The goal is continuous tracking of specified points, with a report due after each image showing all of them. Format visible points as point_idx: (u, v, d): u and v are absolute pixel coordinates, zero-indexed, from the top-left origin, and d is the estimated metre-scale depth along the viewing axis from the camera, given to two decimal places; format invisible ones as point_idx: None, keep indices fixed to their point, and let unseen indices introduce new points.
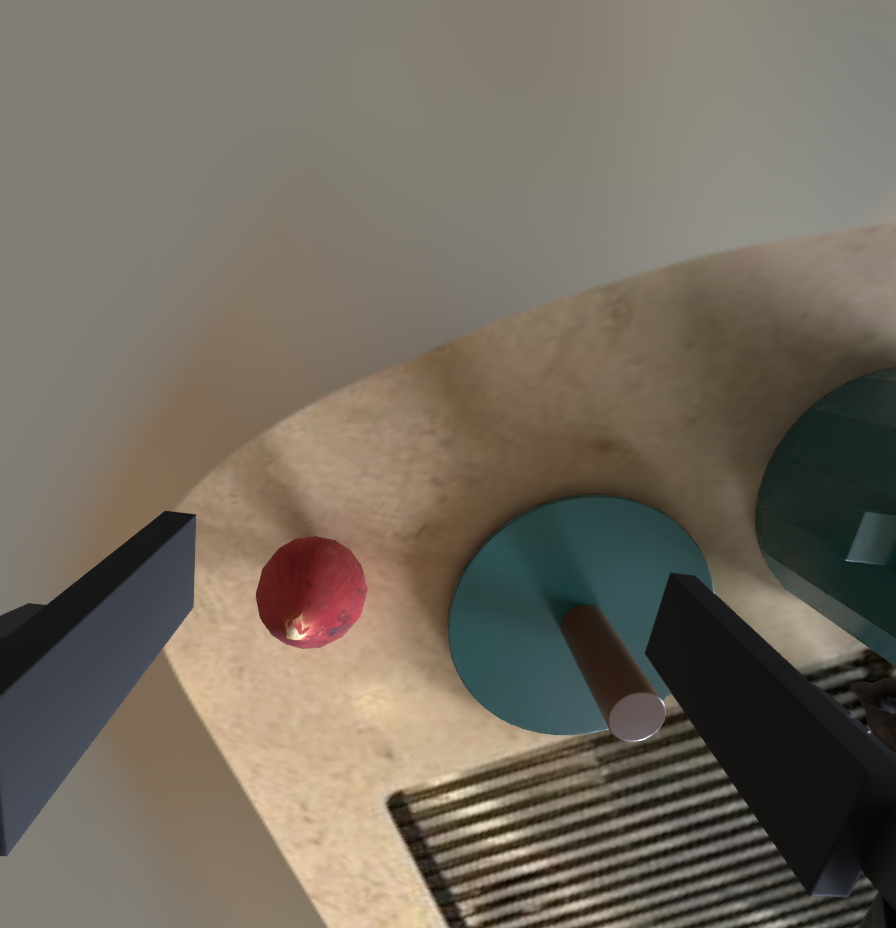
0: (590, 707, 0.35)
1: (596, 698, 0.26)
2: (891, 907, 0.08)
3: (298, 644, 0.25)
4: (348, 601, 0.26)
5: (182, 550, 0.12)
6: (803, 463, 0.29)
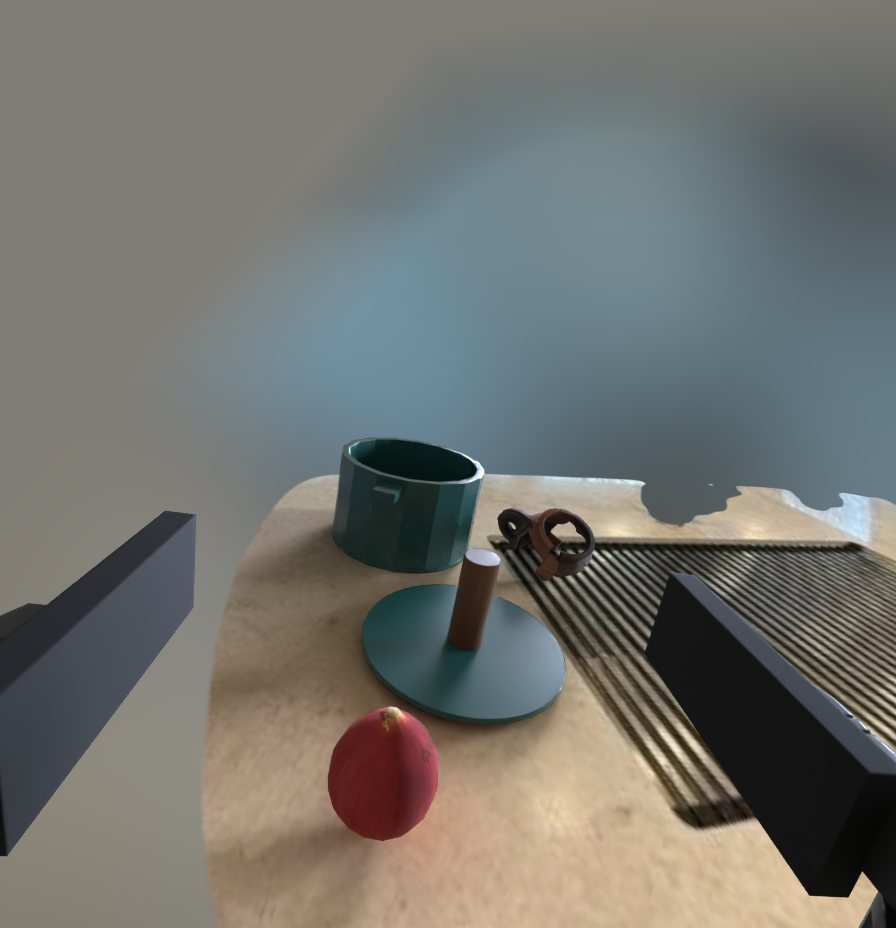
0: (536, 645, 0.45)
1: (480, 582, 0.40)
2: (891, 906, 0.08)
3: (417, 737, 0.26)
4: None
5: (182, 550, 0.12)
6: (367, 542, 0.54)
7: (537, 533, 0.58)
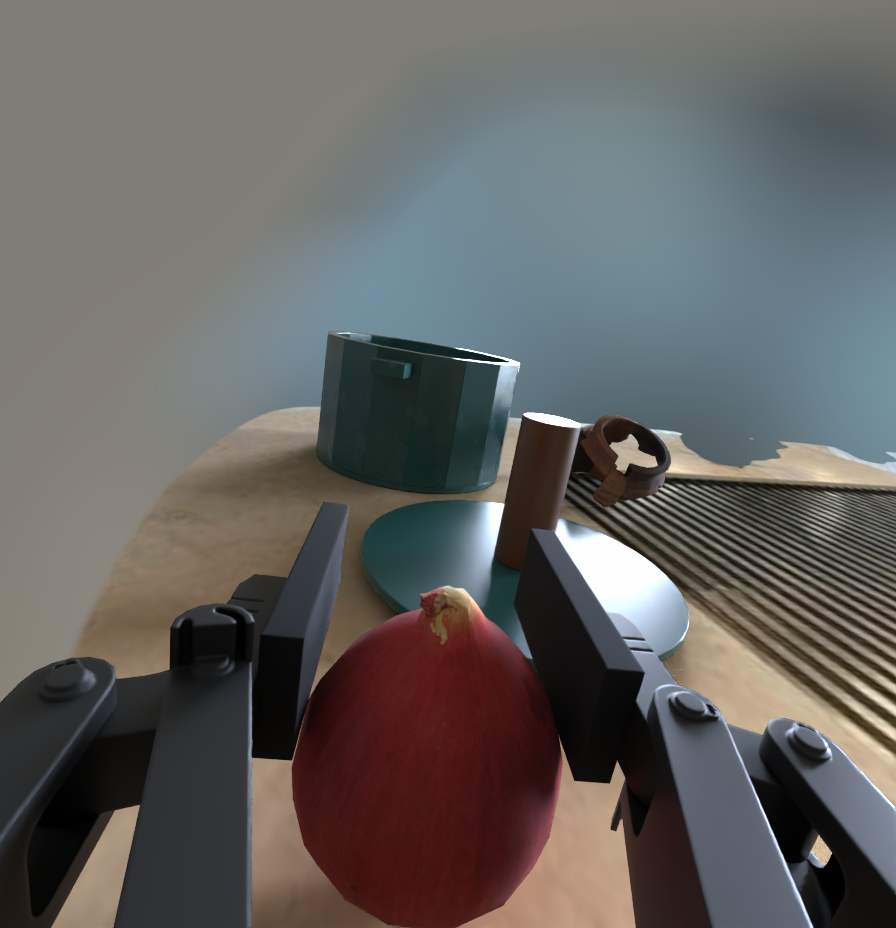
0: (629, 569, 0.29)
1: (552, 456, 0.25)
2: (634, 794, 0.09)
3: (514, 662, 0.10)
4: None
5: (343, 534, 0.15)
6: (364, 449, 0.39)
7: (595, 442, 0.43)
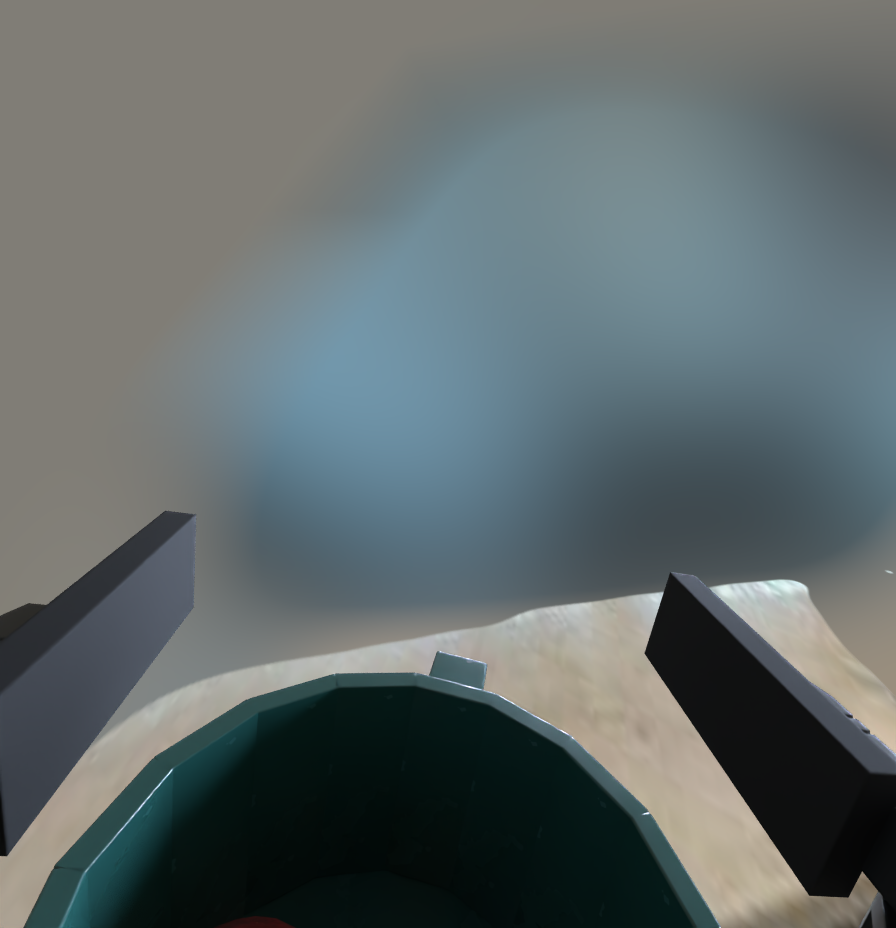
0: None
1: None
2: (891, 907, 0.08)
3: None
4: None
5: (182, 550, 0.12)
6: None
7: None
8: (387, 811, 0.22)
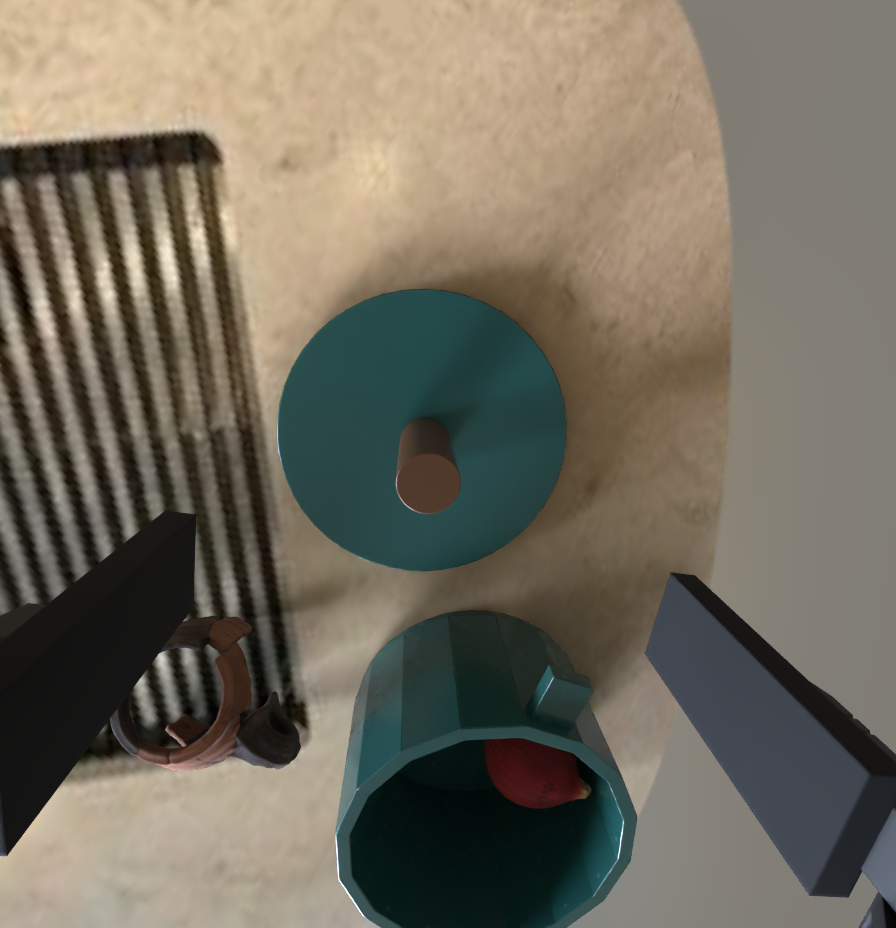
0: (314, 432, 0.30)
1: (432, 444, 0.24)
2: (892, 907, 0.08)
3: (561, 793, 0.32)
4: None
5: (182, 550, 0.12)
6: (545, 648, 0.34)
7: (237, 692, 0.30)
8: (455, 835, 0.36)
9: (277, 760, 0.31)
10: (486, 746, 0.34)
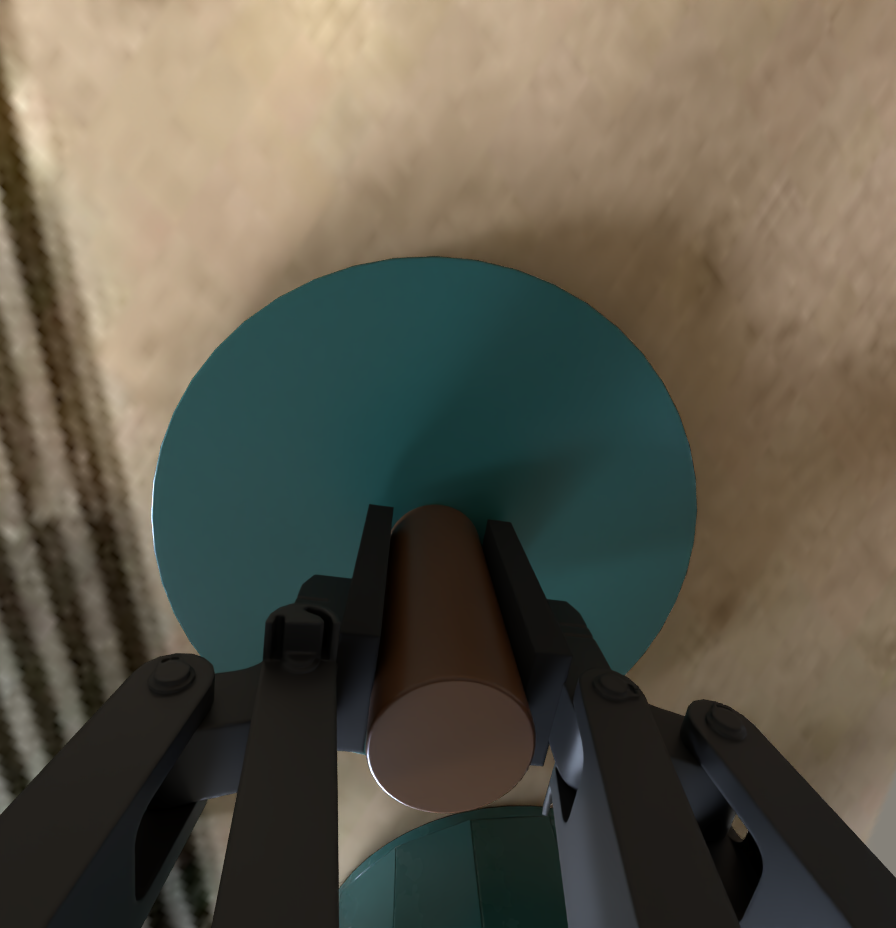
0: (225, 532, 0.16)
1: (460, 623, 0.10)
2: (562, 778, 0.09)
3: None
4: None
5: None
6: None
7: None
8: None
9: None
10: None
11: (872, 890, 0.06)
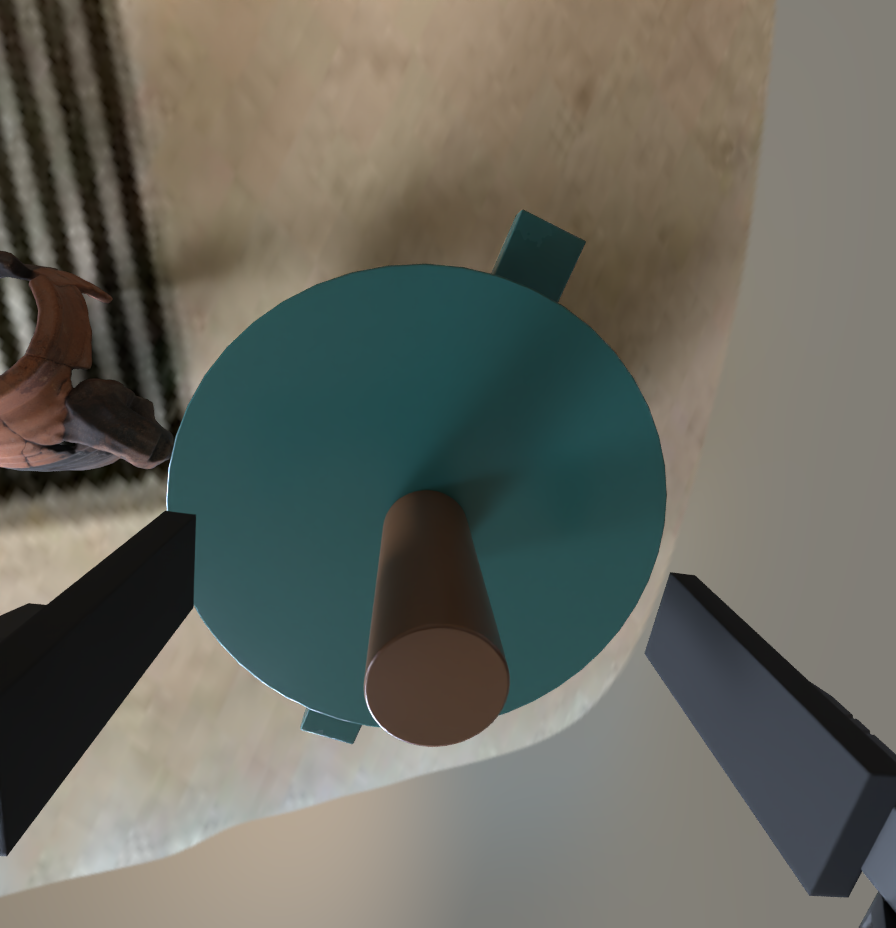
0: (234, 516, 0.17)
1: (445, 585, 0.11)
2: (892, 907, 0.08)
3: None
4: None
5: (182, 550, 0.12)
6: None
7: (63, 328, 0.21)
8: None
9: (128, 441, 0.21)
10: None
11: None
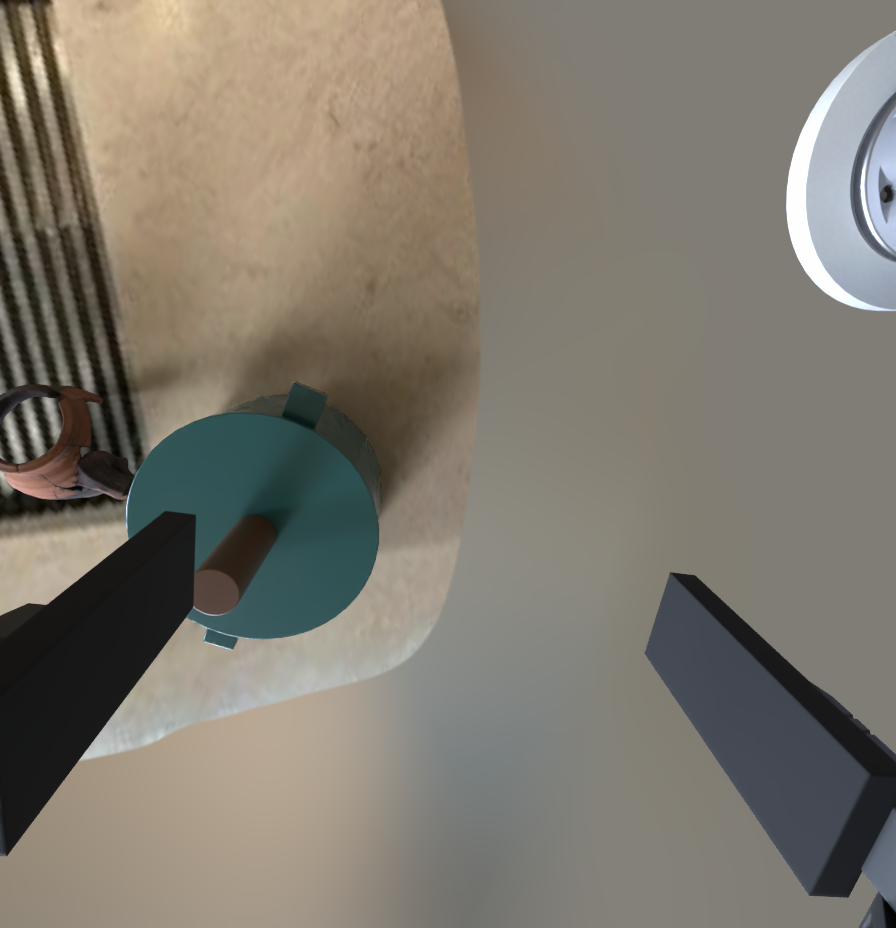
0: None
1: (224, 556, 0.30)
2: (892, 907, 0.08)
3: None
4: None
5: (182, 550, 0.12)
6: (335, 415, 0.42)
7: (76, 427, 0.39)
8: None
9: (110, 485, 0.40)
10: None
11: None
